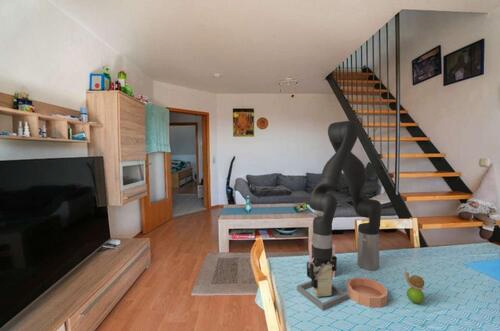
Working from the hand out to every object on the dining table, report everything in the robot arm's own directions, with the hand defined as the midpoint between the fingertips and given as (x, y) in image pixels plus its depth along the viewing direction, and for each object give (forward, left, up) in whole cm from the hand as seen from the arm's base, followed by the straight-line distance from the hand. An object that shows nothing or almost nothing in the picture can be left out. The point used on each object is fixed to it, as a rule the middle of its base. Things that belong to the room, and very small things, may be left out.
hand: (321, 284), depth 93 cm
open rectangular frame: (0, 0, -4) cm, 4 cm away
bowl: (-15, +9, -4) cm, 18 cm away
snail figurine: (-27, +20, -4) cm, 34 cm away
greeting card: (-14, -13, -4) cm, 19 cm away
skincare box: (0, 0, -4) cm, 4 cm away
